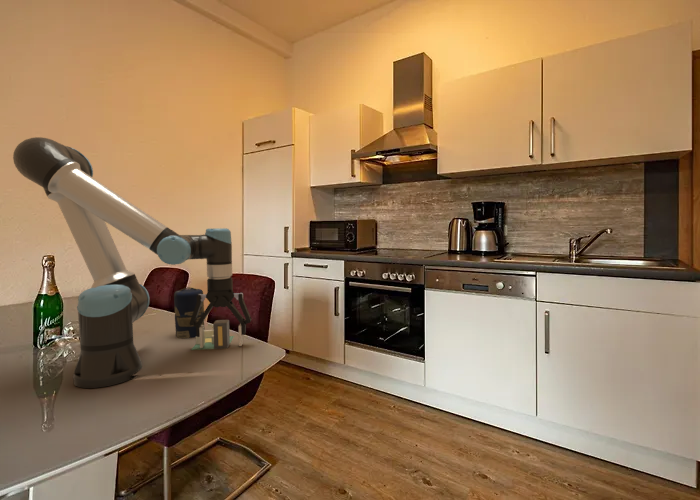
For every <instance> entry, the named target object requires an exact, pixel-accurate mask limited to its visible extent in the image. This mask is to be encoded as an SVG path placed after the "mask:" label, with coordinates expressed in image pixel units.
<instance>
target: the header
mask: <svg viewBox="0 0 700 500" xmlns="http://www.w3.org/2000/svg"><path fill="white" fill-rule="evenodd" d="M205 338H206V339H205ZM204 339H205V343H208V342H212V344H214V329H205V330H204ZM195 344H196V345H198V344H200V337H197V336H196V337H195Z"/></svg>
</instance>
